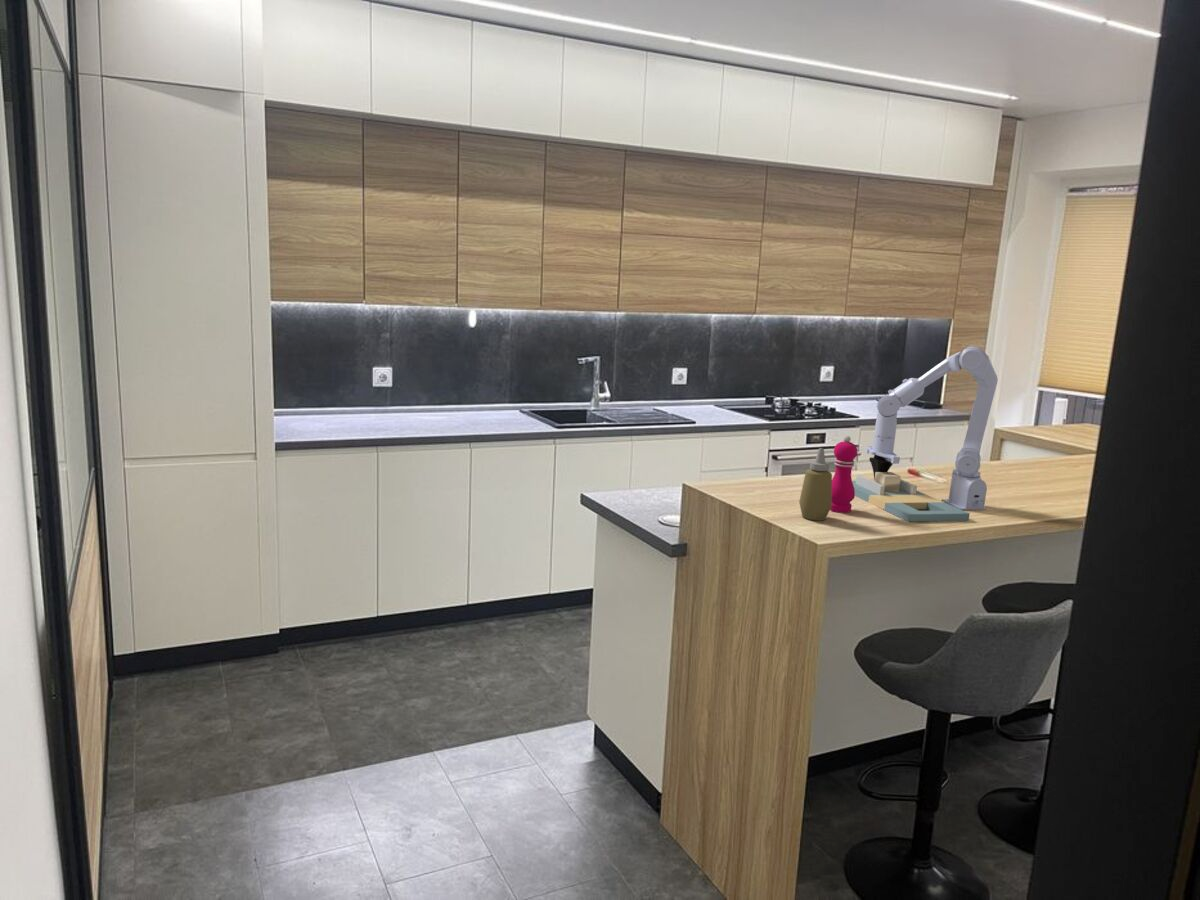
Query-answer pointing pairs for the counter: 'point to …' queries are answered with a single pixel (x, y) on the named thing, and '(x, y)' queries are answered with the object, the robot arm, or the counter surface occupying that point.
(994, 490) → the counter surface
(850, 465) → the pepper mill
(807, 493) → the squeeze bottle
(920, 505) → the board
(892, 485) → the block
